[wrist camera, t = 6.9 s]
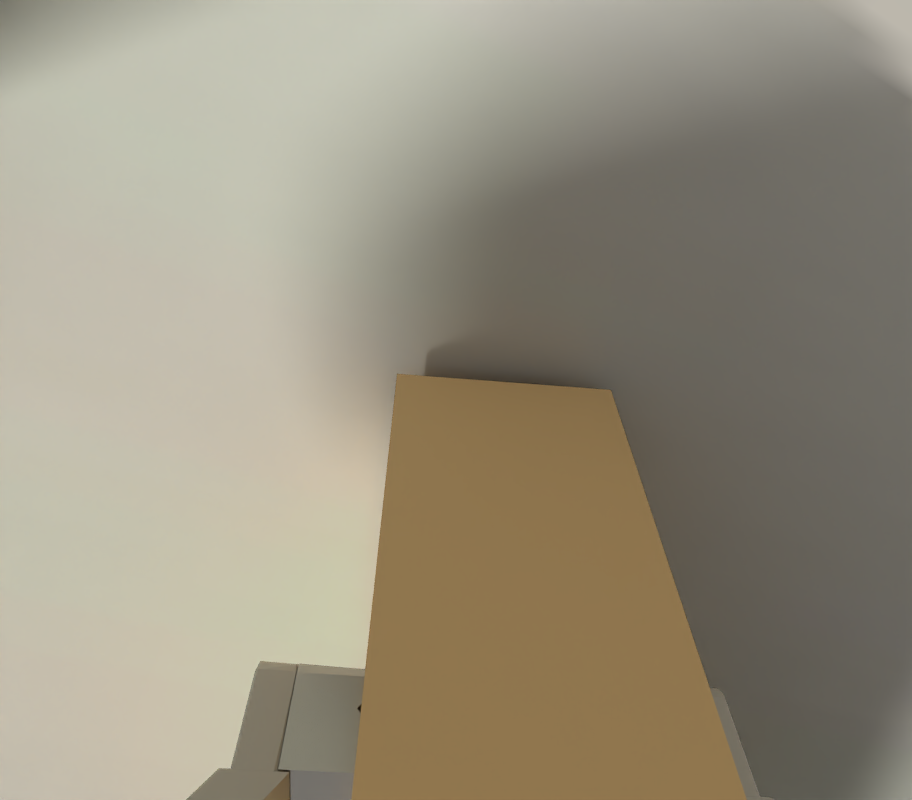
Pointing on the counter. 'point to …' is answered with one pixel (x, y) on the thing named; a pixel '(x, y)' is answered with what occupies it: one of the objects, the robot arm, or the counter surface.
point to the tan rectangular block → (527, 611)
